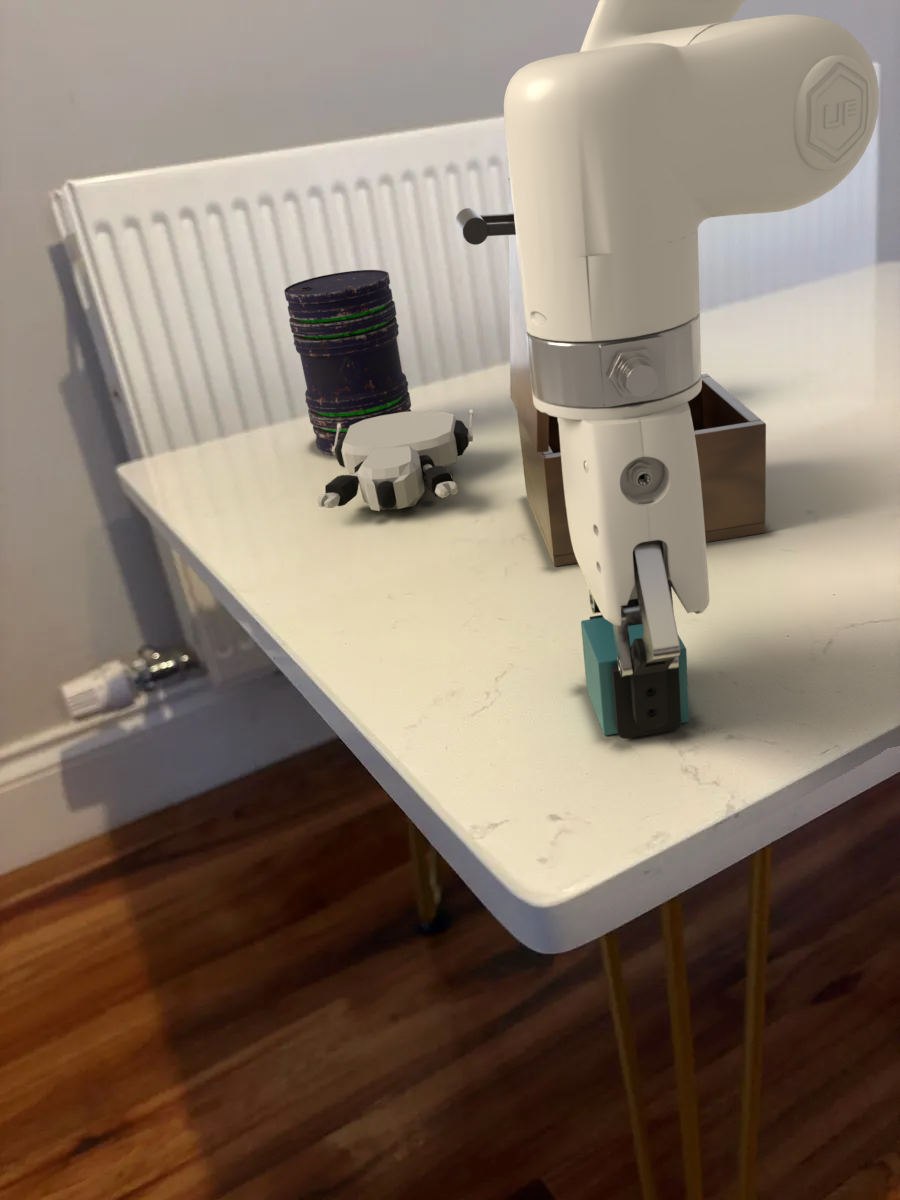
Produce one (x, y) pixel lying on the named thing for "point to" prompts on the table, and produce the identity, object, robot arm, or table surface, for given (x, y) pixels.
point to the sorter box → (725, 466)
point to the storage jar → (347, 350)
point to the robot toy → (397, 459)
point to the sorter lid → (511, 318)
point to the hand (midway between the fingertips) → (635, 700)
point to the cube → (604, 657)
